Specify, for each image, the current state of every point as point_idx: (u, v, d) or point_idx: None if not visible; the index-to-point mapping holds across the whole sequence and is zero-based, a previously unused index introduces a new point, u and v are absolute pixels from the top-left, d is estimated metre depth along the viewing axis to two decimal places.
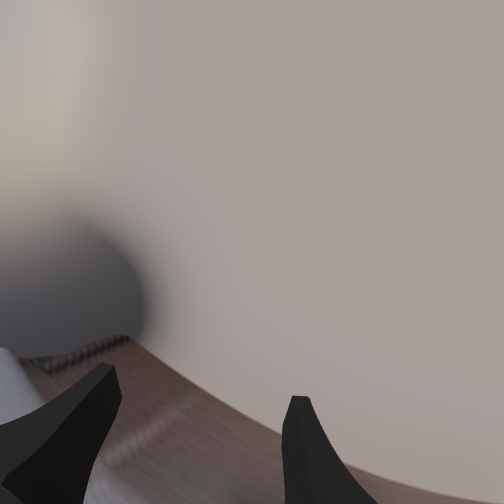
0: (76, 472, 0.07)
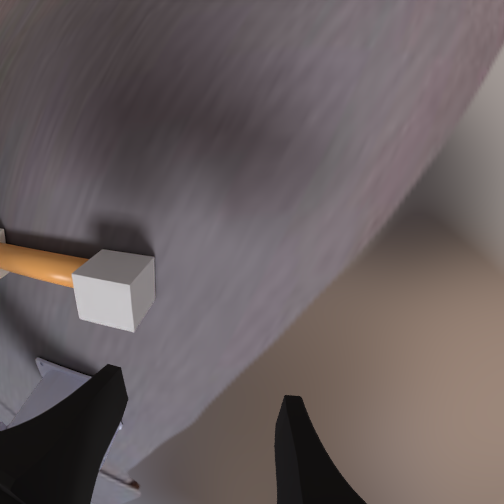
0: (83, 475, 0.07)
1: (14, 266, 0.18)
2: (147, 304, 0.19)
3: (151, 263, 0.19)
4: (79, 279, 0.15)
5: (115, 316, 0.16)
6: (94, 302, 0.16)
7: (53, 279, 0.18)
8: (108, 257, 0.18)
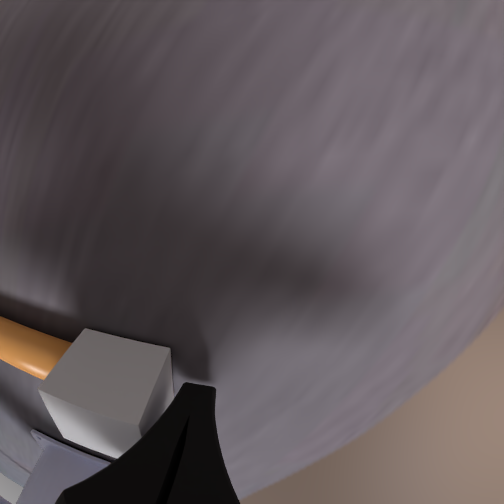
0: None
1: None
2: None
3: (167, 360, 0.11)
4: (51, 398, 0.08)
5: (119, 450, 0.08)
6: (82, 429, 0.08)
7: (19, 367, 0.10)
8: (95, 349, 0.10)
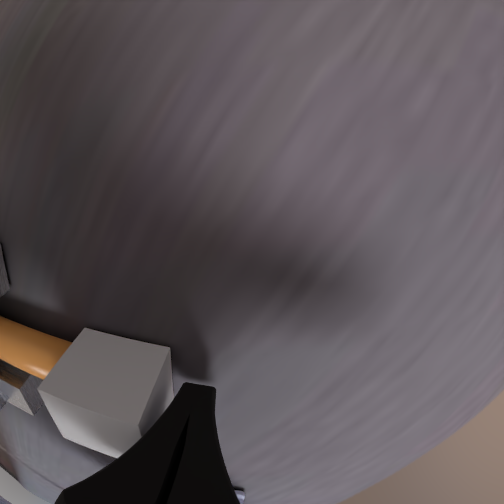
0: None
1: None
2: None
3: (167, 360, 0.11)
4: (51, 398, 0.08)
5: (119, 450, 0.08)
6: (81, 429, 0.08)
7: (19, 367, 0.10)
8: (95, 349, 0.10)
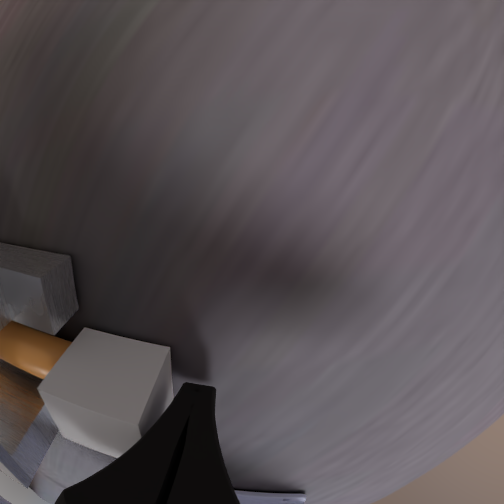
0: None
1: None
2: None
3: (166, 359, 0.11)
4: (50, 398, 0.08)
5: (119, 450, 0.08)
6: (81, 429, 0.08)
7: (19, 367, 0.10)
8: (94, 348, 0.10)
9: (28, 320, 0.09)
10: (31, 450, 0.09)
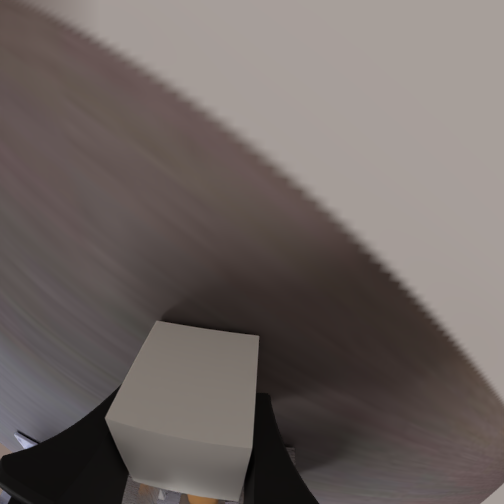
0: (114, 487, 0.07)
1: None
2: None
3: None
4: None
5: None
6: None
7: (195, 494, 0.14)
8: None
9: None
10: None
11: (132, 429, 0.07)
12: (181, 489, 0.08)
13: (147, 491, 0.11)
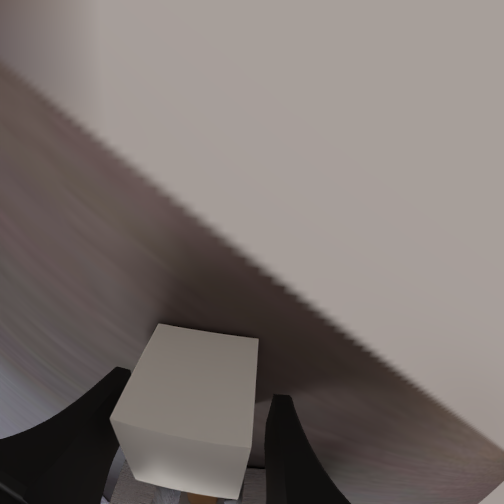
0: (93, 479, 0.07)
1: None
2: None
3: None
4: None
5: None
6: None
7: (194, 493, 0.14)
8: None
9: None
10: None
11: (136, 429, 0.07)
12: (182, 487, 0.08)
13: None
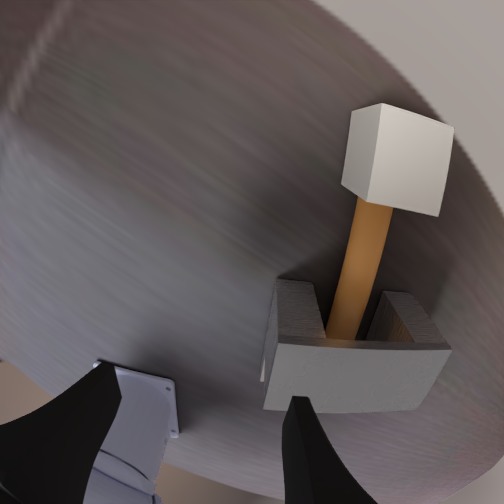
0: (76, 472, 0.07)
1: (370, 254, 0.16)
2: None
3: None
4: None
5: None
6: None
7: (347, 317, 0.18)
8: None
9: None
10: None
11: (397, 111, 0.11)
12: (405, 200, 0.12)
13: None
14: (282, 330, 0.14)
